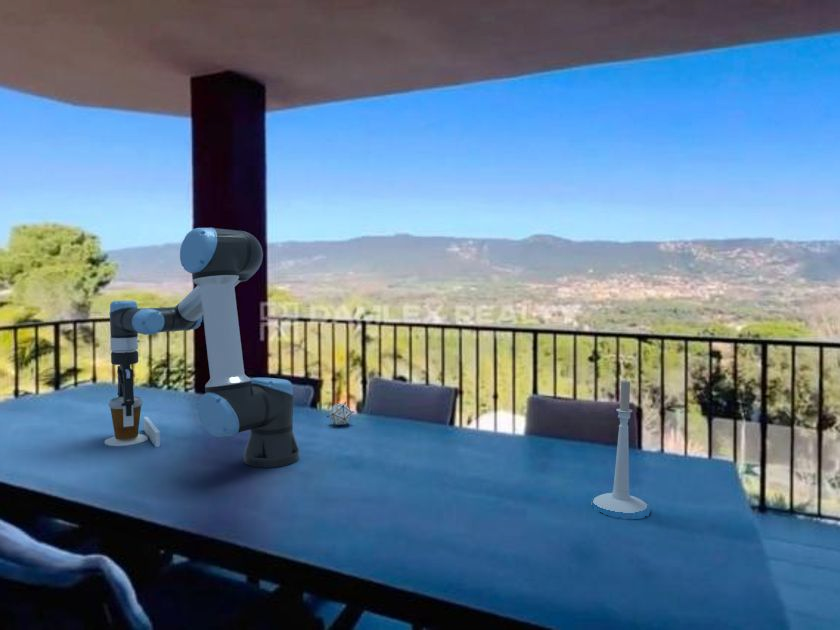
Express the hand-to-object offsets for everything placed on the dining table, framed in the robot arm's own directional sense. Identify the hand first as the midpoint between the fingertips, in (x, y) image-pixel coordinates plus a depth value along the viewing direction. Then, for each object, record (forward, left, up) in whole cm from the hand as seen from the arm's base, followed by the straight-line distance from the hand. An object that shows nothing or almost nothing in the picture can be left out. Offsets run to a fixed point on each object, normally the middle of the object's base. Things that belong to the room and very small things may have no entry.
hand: (126, 422), depth 183 cm
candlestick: (-116, -88, -6) cm, 146 cm away
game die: (-17, -65, -6) cm, 67 cm away
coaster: (0, 0, -6) cm, 6 cm away
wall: (-1, -7, -6) cm, 9 cm away
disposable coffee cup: (0, 0, -5) cm, 5 cm away
